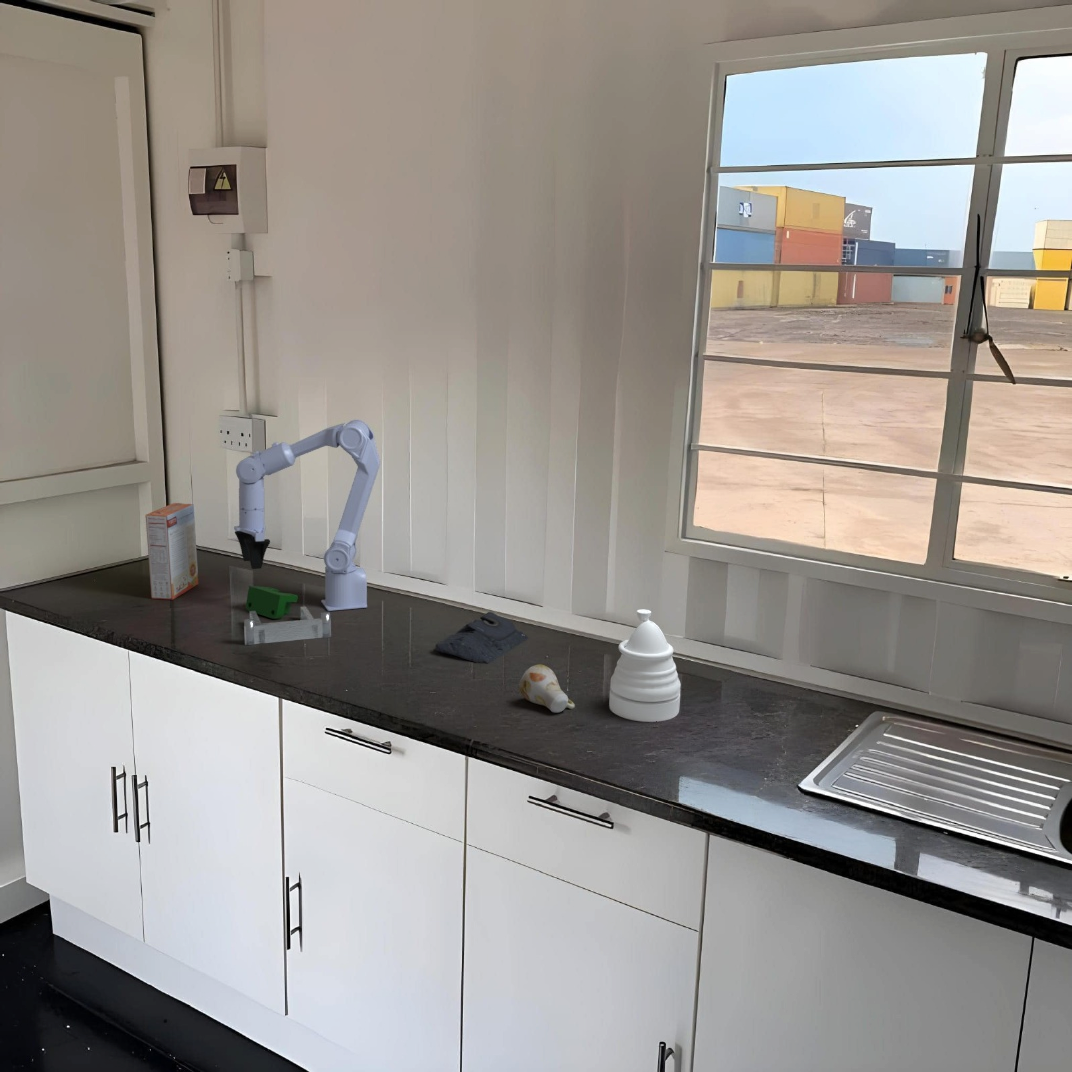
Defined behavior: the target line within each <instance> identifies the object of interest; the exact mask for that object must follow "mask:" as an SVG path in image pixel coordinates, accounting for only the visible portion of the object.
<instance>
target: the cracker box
mask: <svg viewBox="0 0 1072 1072" xmlns="http://www.w3.org/2000/svg"><path fill="white" fill-rule="evenodd" d="M195 518H196V517H195V505H194V503H193V504H192V503H181V502H173V503H171V504H168V505H166V506H164V507H161V508H159V509H157V510H154V511H151V512H149V513H147V514H145V528H146V541H147V554H148V567H149V568H148V569H149V570H148V571H149V579H150V580H149V581H150V582H149V583H150V597H151V599H154V600H155V599H156V600H169V601H170V600H172V601H173V600H175V599H176V598H178V597H180V596H181V595H182V594H184V593H187V592H188V591H190V590H191V589H193V588H195V587H196V586H198V585H199V572H198V571H199V570H198V555H197V538H196V537H197V536H196V522H195V521H196V519H195Z"/></svg>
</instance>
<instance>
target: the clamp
mask: <svg viewBox="0 0 1072 1072" xmlns="http://www.w3.org/2000/svg"><path fill="white" fill-rule="evenodd" d="M298 598H299V595H297V594H293V593H288V592H287V593H286V592H285V593H284V592H280V589H277V588H273V587H268V586H252V585H249V586H248V590H247V596H246V603H245V607H246V610H247V611H248V612H250V611H256V613H257V615H261V616H264V617H267V618H270V619H277V620H278V619H279V620H280V619H283V617H284V615H285V614H290V611H291V605H292V603H297V602H298Z"/></svg>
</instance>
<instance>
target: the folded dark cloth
mask: <svg viewBox="0 0 1072 1072" xmlns="http://www.w3.org/2000/svg"><path fill="white" fill-rule="evenodd" d="M527 640H529V635H527V634H524V633H523V631H519V630H518V629H516V627H515V624H514V623H513V622H512V620H510V619H508V618H506V617H502V616H500V615H498V614H495V613H494V612H493V611H489V612H488V611H487V612H486V614H484V615H482V616H480V619H474V620H473V621H471V622H469V623H467V624H465V625H464V626H462V627H461V628H460V629H459V630H458V631H457V632H456V633H454V634H450V635H448V636H447V637H446V638H444V639H443V640H440V641H438V642H437V643H436V644H435V649H436V651H438V652H439V653H442V654H448V655H452V656H456V657H459V658H461V659H464V660H467V661H471V662H472V663H473V662H474V663H480V664H490V663H492V662H494V661H495V660H496V659H498V658H500V657H502V656H503V655H506V654H507V653H508V652H510V651H511V650H513V649H514V648H516V647H517V646H519V645H520V644H522V643H523V642H525V641H527Z"/></svg>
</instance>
